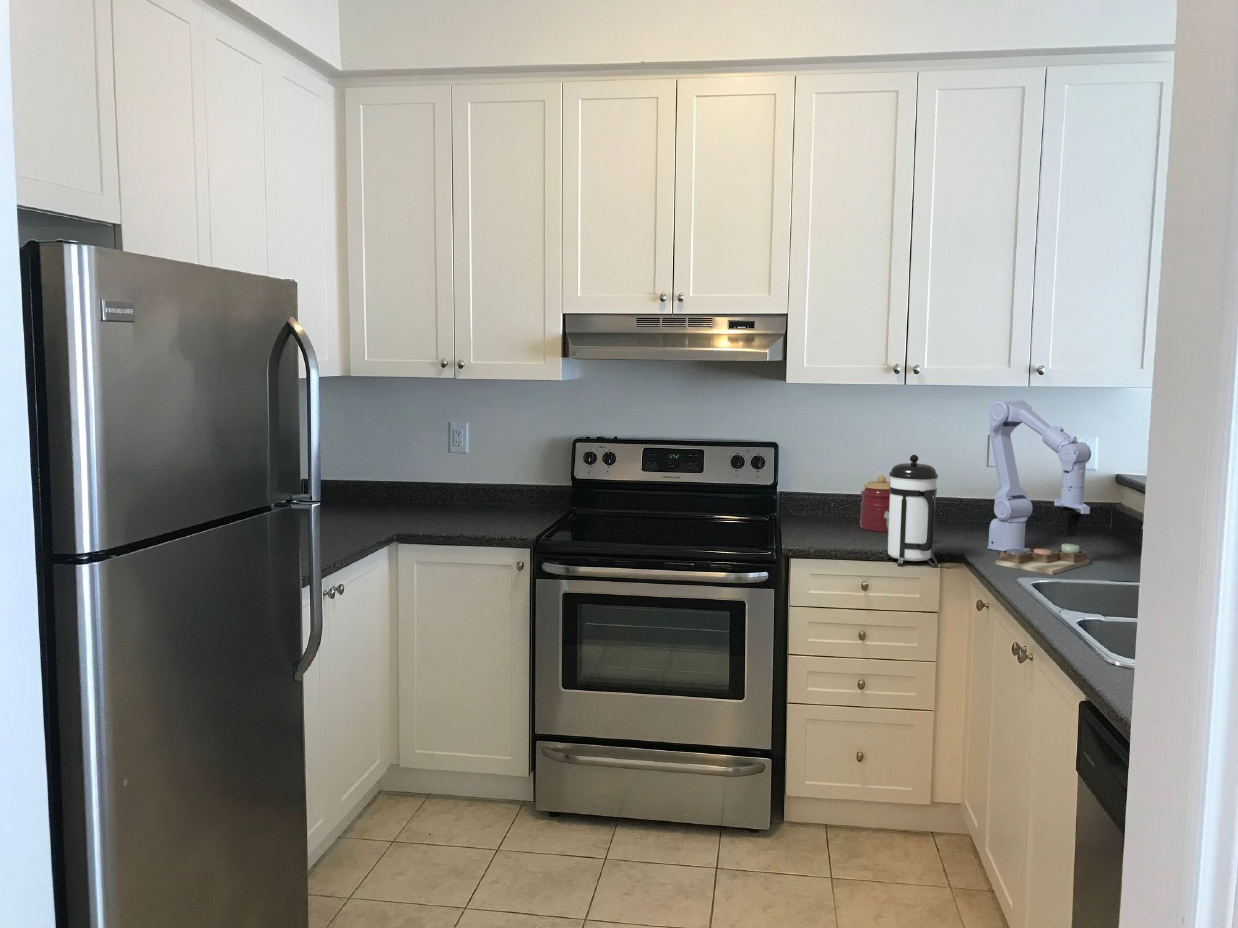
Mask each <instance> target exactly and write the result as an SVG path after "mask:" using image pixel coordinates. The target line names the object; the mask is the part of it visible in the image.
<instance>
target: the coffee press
mask: <svg viewBox="0 0 1238 928" xmlns="http://www.w3.org/2000/svg"><path fill="white" fill-rule="evenodd" d="M909 460H910V462H908V463H907V462H904V463H899V464H896V465H894V466H893V467H892V469H891V471H889V475H888V476H889V477H890V481H889V482H890V486H889V493H890V505H889V530H888V537H887V550H886V551H885V553H884V554H883V559H884V560H889V559H890V558H893V559H897V567H901V568H902V567H904V566H905V563H906V562H907V561H908V562H909V561H910V562H922V561H923V562H927V563H929V565H930V566H931V567H934V566H936V565H937V564H938V560H937V559H936V557H935V555H934V548H935V547H934V546H935V545H934V544H935V543H934V542H935V525H936V524H935V523H936V519H935V518H936V506H937V505H936V504H937V503H936V501H937V500H936V496H937V490H938V489H937V479H938V478H939V474H938V473H937V470H936V469H935V468H934V467H933V466H931V465H929V464H925V463H918V461H919V456H918V455H917V454H912V455H911V456H910V457H909ZM887 554H888V556H889V557H887V556H886V555H887ZM931 558H932V560H933V561H934V563H932V561H931V560H929V559H931Z"/></svg>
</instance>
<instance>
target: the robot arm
mask: <svg viewBox="0 0 1238 928" xmlns="http://www.w3.org/2000/svg"><path fill="white" fill-rule="evenodd" d="M987 412H988V417H989V422H990V424H989V436H990V441H991V442H990V443H991V446H992V451H993V457H994V464H995V469H996V475H997V481H998V485H999V490H998V491H997V492H996V493H995V495H994V496H993V499H994V505H993V512H994V515H995V516H996V518H993V519H992V520H991V522H990V524H989V527H988V529H989V530H988V546H986V547H987V548H986V549H988V550H993V551H998V552H1000V551H1004V550H1007V549H1019V550H1023V551H1024V552H1026V551H1030V550H1031V548H1029V547H1025V540H1026V536H1025V535H1026V523H1027V522H1026V521H1028V518H1029V517H1030V516H1031V515H1032V513H1033V503H1032V502H1031V500H1030V498H1029V496H1028V492H1027V491H1026V489H1023V488H1022V487H1021V485H1020V481H1019V476H1018V474H1019V473H1018V469H1017V463H1016V459H1015V458H1016V457H1015V453H1014V447H1013V441H1012V437H1011V434H1012V433H1013V432H1014V430H1015V429H1016V428H1017V427H1019V426H1020V425H1021V424H1022V423H1023V424H1024V425H1025V426H1027V427H1029V428H1030V429H1031V430H1033V431H1035V432H1036V433H1037V434H1038V435H1041V438H1042V442H1043V444H1045V445H1046V446H1047V447H1048V448H1050V449H1051V450H1052V451H1053V452H1055V453H1056V454H1057V457H1058V460H1059V462H1060V468H1061V470H1062V471H1061V488H1060V498H1054V500H1053V501H1054V504H1053V505H1054V506H1055V507H1061V508H1062V509H1057V514H1058V515H1059V517H1060V520H1061V522H1062V526H1063V532H1064V535H1065V536H1066V537H1075V535H1076V533H1077V530H1078V527H1079V526H1080V525H1079V524H1080V522H1081V521H1082V519H1083V518H1084V516H1085V515H1090V514H1091V512H1090V510H1091V507H1090V506H1088V505H1087V504H1085V503H1084V501H1085V500H1084V499H1085V496H1084V495H1085V484H1086V483H1085V482H1086V467H1087V466H1086V465H1087V462H1089V461H1090V459H1091V457H1092V450H1091V448H1090V446H1089V445H1088V444H1087V443H1086V442H1084V441H1080V442H1078V441H1077V439H1076V437H1072V436H1070V435H1069V434H1068V433H1067V432H1065V429H1064V428H1063V427H1062V426H1055V425H1054V426H1051V425H1050V424H1048V423H1047V422H1046V420H1045V419H1043V418H1042V417H1041V416H1040V415H1039V414H1037V413H1036V412H1035V411H1034V410H1033V407H1032V405H1030V404H1028V403H1027V402H1026V401H1024V400H1022V399H1021V400H1020V399H1019V400H1004V401H1003V400H997V401H995V402H994V403H992V405H991V407H990V408H989V410H988V411H987Z"/></svg>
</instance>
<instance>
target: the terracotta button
mask: <svg viewBox="0 0 1238 928" xmlns="http://www.w3.org/2000/svg"><path fill="white" fill-rule="evenodd" d="M1033 550H1034V553H1039V554H1045V555H1049V554H1051V552H1052V551H1053V550H1051V549H1047V548H1034V549H1033Z"/></svg>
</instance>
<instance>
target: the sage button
mask: <svg viewBox="0 0 1238 928" xmlns="http://www.w3.org/2000/svg"><path fill="white" fill-rule="evenodd" d="M1060 549H1061V552H1063V553H1069V554H1079V551H1080V545H1079V544H1074V543H1062V544H1061V548H1060Z"/></svg>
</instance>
